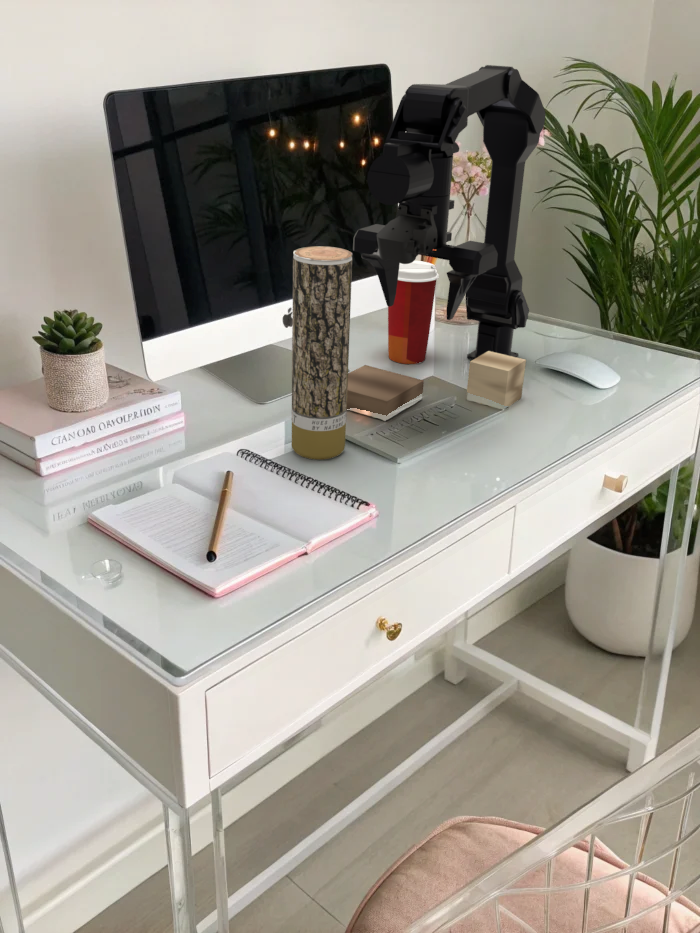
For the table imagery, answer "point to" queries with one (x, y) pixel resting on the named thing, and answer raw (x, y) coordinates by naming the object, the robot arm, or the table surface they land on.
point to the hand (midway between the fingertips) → (419, 312)
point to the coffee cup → (411, 312)
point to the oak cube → (497, 377)
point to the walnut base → (380, 390)
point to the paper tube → (320, 350)
